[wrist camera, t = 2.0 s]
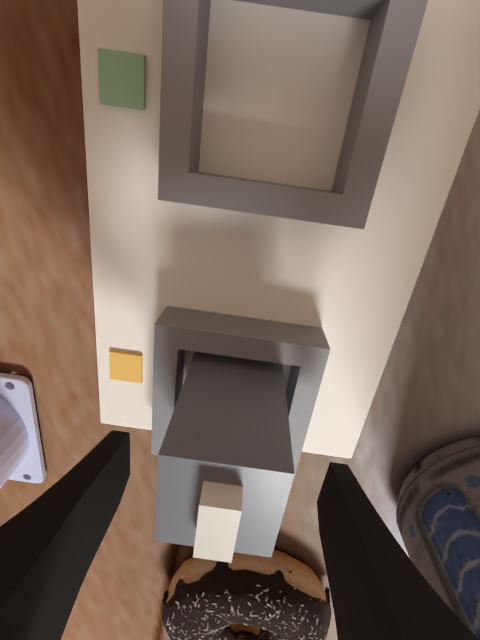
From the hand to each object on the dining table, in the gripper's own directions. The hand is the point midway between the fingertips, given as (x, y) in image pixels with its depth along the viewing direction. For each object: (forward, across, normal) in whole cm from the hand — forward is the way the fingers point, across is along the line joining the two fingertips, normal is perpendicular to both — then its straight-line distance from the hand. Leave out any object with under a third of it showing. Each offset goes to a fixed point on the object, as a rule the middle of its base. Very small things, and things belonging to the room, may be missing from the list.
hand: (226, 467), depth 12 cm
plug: (+5, 0, 0) cm, 5 cm away
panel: (+6, 0, -6) cm, 9 cm away
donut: (+7, -3, +19) cm, 20 cm away
